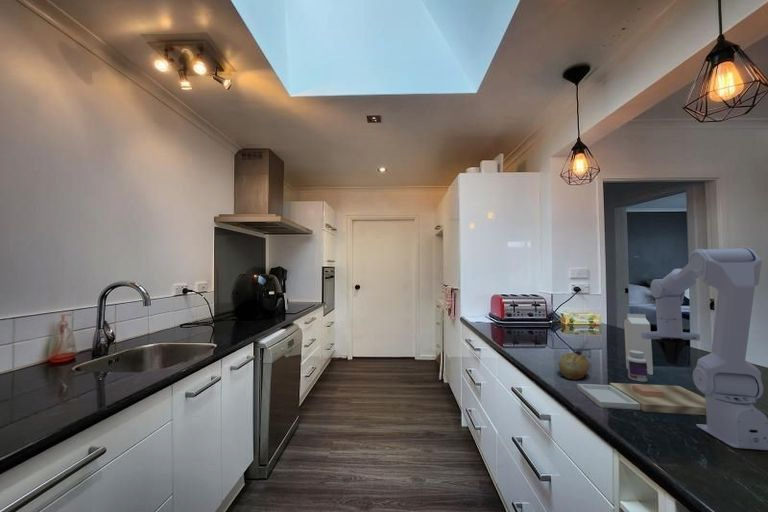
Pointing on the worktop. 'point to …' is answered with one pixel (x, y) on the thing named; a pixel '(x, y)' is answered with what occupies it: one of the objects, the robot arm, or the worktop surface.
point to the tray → (608, 396)
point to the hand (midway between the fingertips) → (671, 363)
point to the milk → (638, 338)
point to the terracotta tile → (647, 391)
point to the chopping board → (666, 399)
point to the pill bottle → (637, 366)
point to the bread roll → (573, 366)
